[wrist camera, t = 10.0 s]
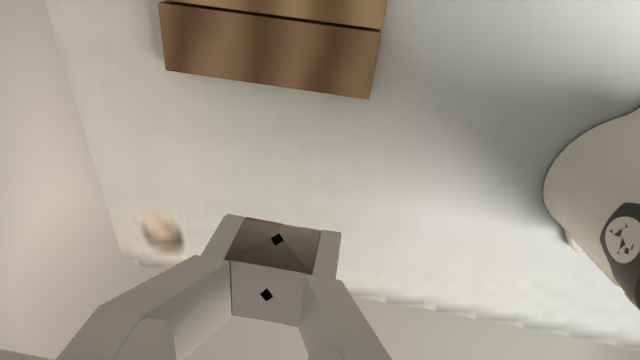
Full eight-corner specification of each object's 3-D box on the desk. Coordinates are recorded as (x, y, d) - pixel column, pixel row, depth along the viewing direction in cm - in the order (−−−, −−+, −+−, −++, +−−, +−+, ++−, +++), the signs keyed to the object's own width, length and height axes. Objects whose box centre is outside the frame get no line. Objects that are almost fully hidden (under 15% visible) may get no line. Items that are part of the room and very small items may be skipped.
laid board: (380, 30, 33) (381, 33, 32) (368, 94, 36) (368, 99, 35) (166, 1, 34) (158, 2, 33) (173, 66, 37) (165, 70, 36)
